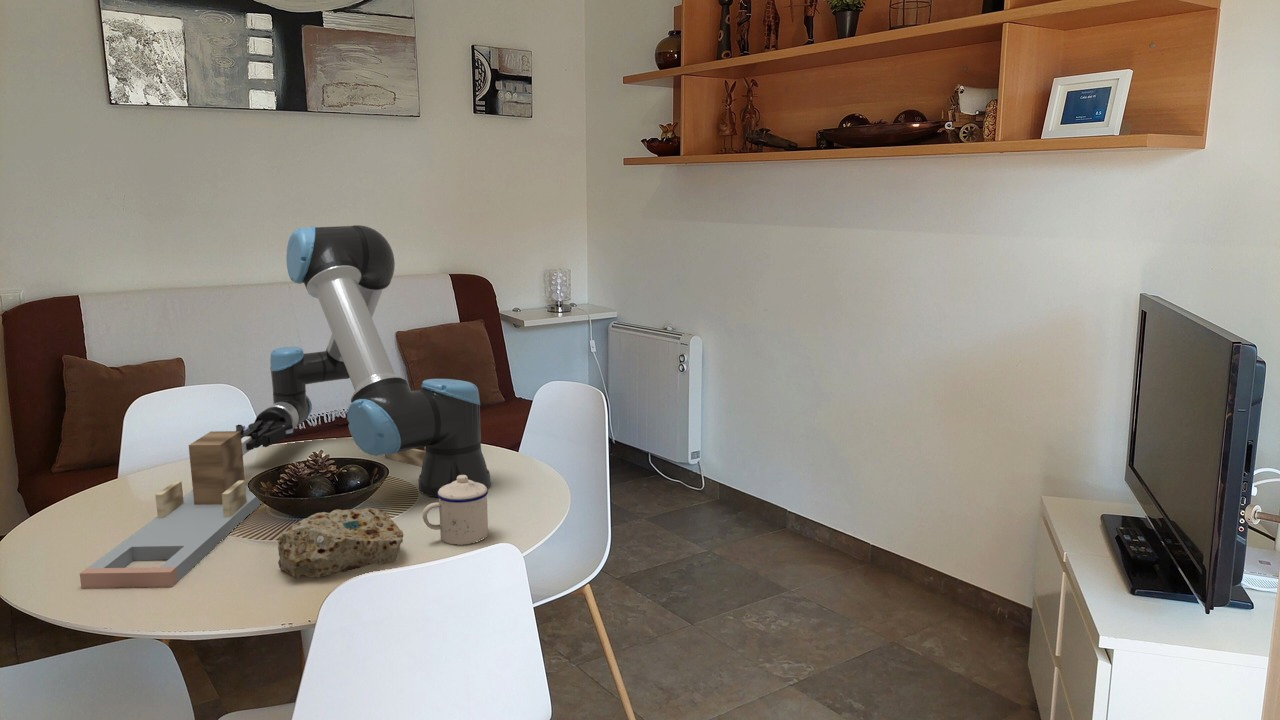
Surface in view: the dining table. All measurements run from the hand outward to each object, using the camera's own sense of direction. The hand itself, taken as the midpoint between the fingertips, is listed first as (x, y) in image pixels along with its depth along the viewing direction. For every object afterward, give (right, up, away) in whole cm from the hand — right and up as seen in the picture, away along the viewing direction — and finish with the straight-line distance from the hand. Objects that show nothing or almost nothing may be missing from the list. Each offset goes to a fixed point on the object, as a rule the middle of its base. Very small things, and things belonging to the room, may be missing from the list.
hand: (236, 451), depth 193 cm
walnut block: (0, -8, -8) cm, 11 cm away
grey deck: (+1, -14, -23) cm, 27 cm away
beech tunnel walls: (+1, -10, -16) cm, 19 cm away
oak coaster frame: (+34, -4, +28) cm, 44 cm away
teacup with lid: (+51, -14, -24) cm, 58 cm away
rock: (+33, -16, -34) cm, 50 cm away
